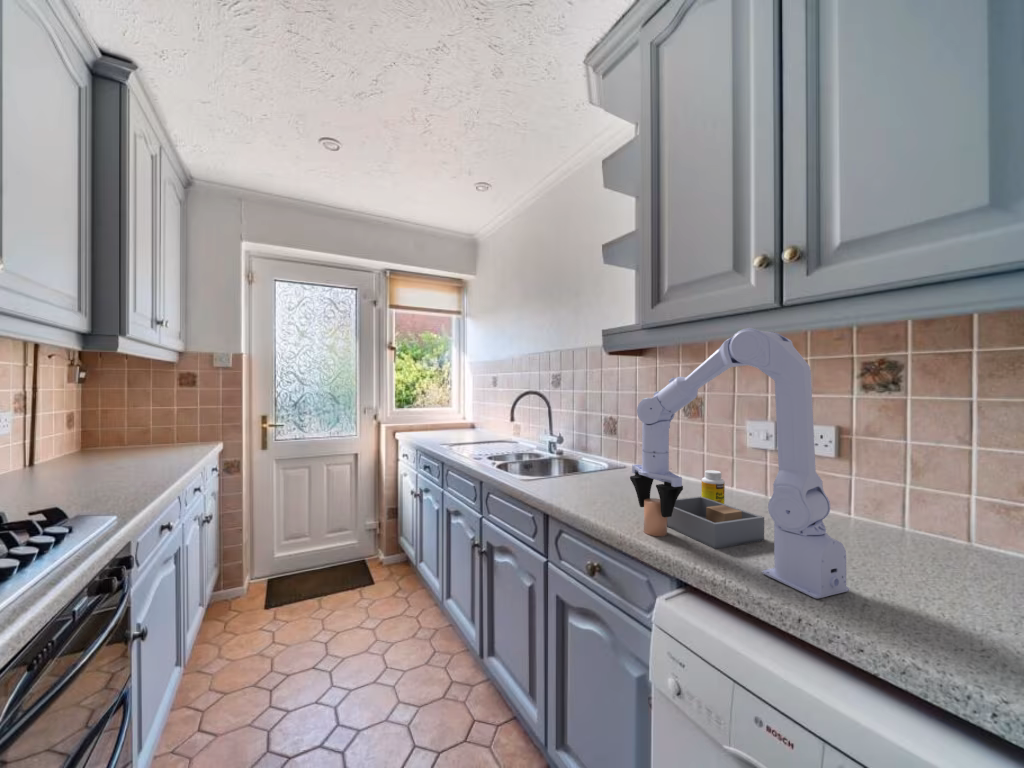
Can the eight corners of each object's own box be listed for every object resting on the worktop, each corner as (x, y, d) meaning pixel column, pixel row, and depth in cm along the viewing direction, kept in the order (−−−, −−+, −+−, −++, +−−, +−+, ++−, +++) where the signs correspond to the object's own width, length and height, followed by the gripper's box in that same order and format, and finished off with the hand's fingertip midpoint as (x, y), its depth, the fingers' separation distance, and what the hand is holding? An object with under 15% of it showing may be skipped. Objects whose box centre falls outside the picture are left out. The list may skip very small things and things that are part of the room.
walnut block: (741, 534, 90) (741, 511, 90) (724, 536, 88) (724, 513, 88) (722, 526, 95) (723, 505, 95) (706, 529, 93) (706, 507, 93)
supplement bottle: (717, 514, 106) (717, 474, 106) (697, 508, 111) (697, 470, 111) (728, 510, 109) (728, 472, 109) (708, 505, 114) (708, 468, 114)
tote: (764, 540, 88) (764, 517, 88) (715, 549, 83) (715, 524, 83) (700, 516, 104) (701, 496, 104) (657, 521, 100) (657, 501, 100)
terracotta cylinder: (671, 535, 91) (672, 503, 91) (652, 537, 89) (653, 504, 90) (657, 527, 96) (658, 497, 96) (639, 529, 94) (639, 499, 94)
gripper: (621, 447, 98) (621, 504, 98) (662, 457, 84) (662, 523, 84) (645, 446, 100) (645, 501, 100) (690, 455, 87) (689, 519, 87)
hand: (655, 511), depth 93 cm, fingers open, 7 cm apart
